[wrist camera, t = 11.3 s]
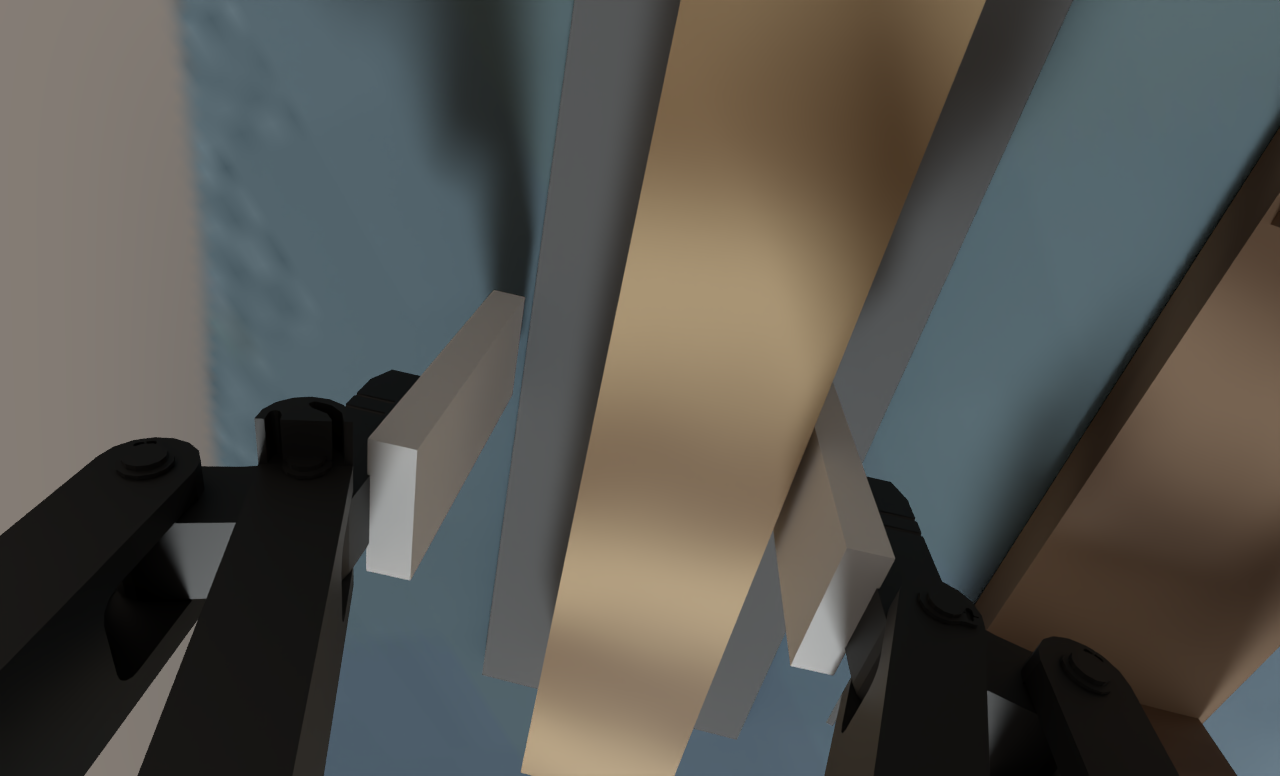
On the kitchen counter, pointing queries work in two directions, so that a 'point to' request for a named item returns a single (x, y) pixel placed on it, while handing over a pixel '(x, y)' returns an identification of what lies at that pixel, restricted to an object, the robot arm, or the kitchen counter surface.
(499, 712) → the kitchen counter surface
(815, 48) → the rail
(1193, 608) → the bracket
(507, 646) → the mat
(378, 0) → the kitchen counter surface
